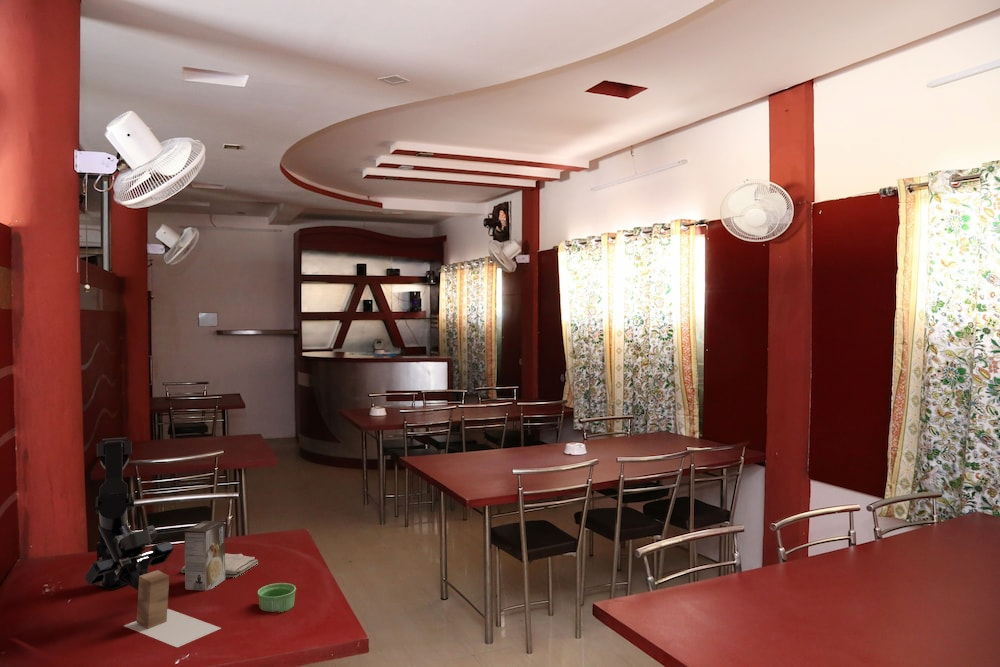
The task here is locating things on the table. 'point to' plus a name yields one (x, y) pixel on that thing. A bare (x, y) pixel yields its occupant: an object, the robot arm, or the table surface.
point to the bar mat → (176, 629)
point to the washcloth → (235, 564)
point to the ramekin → (276, 597)
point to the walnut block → (152, 599)
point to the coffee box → (204, 555)
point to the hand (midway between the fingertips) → (146, 592)
